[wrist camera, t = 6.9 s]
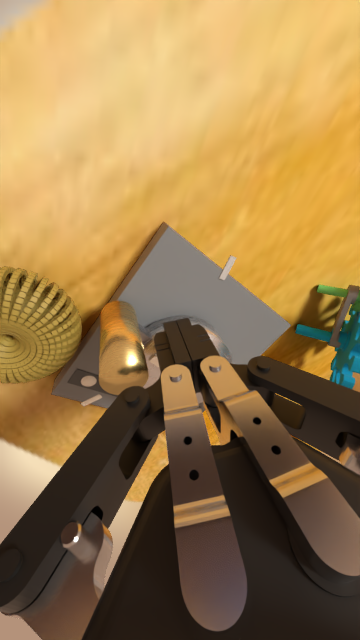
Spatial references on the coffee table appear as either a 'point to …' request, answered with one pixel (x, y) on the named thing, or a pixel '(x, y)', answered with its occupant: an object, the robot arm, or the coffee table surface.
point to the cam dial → (136, 348)
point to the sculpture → (34, 327)
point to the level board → (176, 311)
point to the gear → (341, 335)
